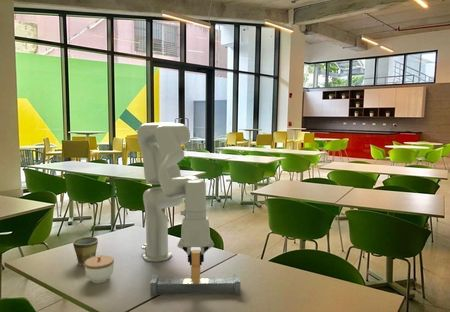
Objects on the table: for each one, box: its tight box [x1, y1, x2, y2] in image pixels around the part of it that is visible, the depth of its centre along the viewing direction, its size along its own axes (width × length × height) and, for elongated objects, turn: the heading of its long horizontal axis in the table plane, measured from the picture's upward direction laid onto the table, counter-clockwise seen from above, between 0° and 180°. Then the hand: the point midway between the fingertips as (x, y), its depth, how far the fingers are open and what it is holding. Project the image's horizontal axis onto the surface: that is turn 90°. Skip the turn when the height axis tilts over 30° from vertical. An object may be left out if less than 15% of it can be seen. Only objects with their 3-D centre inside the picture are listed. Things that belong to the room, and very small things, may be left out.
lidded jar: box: [84, 255, 114, 284], centre depth 142 cm, size 11×11×9 cm
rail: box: [149, 273, 241, 297], centre depth 133 cm, size 32×6×5 cm, turn 92°
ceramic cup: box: [72, 236, 99, 267], centre depth 159 cm, size 13×10×10 cm
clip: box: [190, 249, 201, 282], centre depth 132 cm, size 8×3×10 cm, turn 2°
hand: (195, 263), depth 132 cm, fingers closed on clip, 3 cm apart
